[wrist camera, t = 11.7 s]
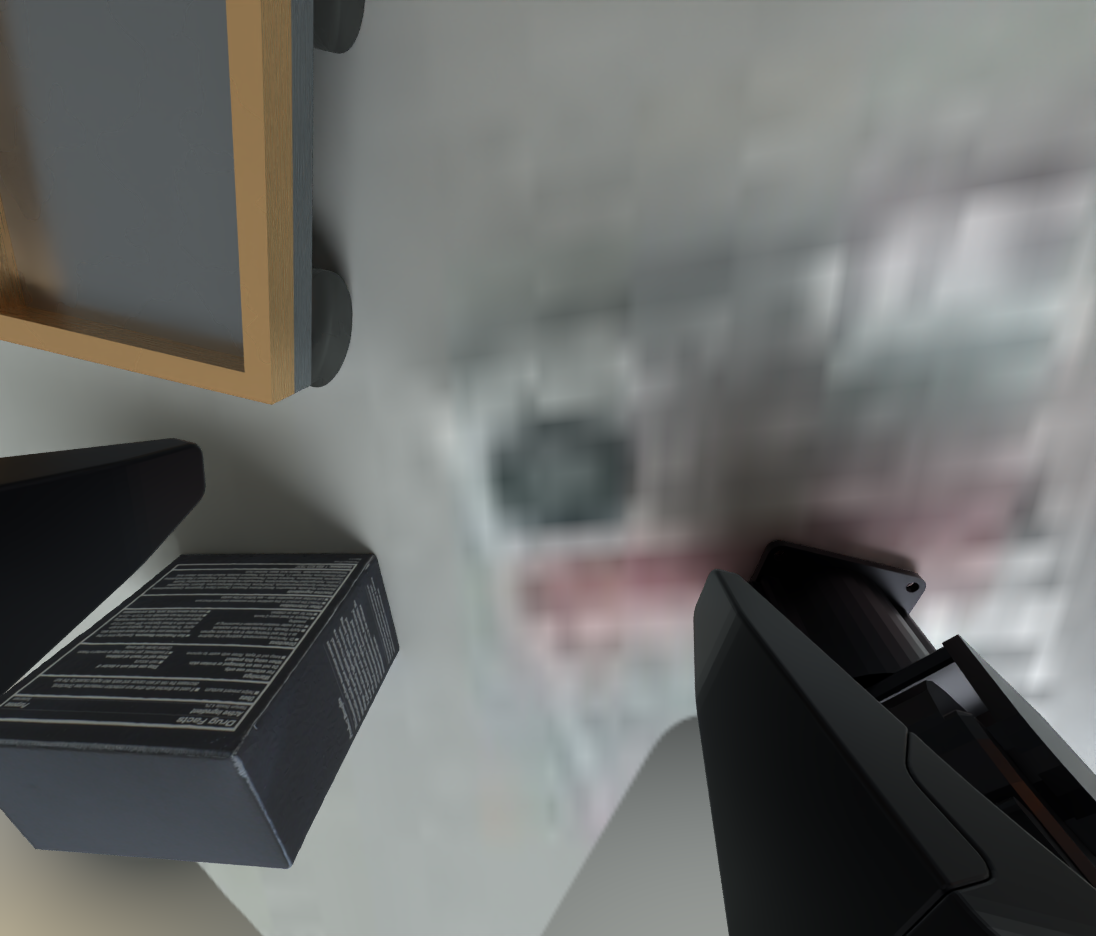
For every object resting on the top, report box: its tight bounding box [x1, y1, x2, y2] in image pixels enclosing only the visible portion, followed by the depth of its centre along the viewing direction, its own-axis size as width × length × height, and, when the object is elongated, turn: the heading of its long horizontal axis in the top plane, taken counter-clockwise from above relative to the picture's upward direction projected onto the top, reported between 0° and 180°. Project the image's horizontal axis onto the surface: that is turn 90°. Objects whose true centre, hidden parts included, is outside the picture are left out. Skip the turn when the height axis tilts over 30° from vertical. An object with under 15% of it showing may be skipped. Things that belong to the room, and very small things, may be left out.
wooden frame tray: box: [0, 0, 365, 405], centre depth 15 cm, size 10×14×6 cm
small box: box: [0, 554, 399, 869], centre depth 22 cm, size 11×6×10 cm, turn 95°
